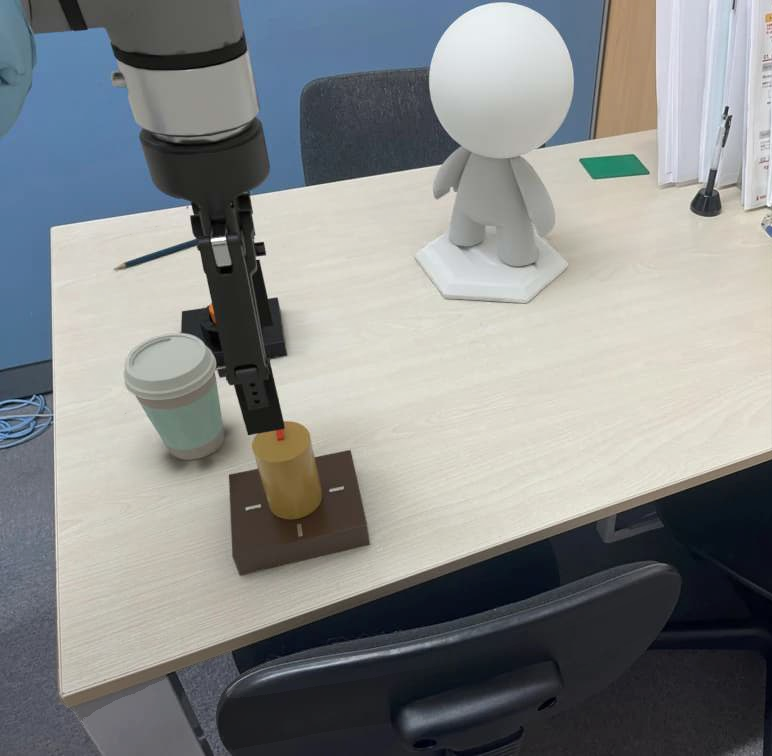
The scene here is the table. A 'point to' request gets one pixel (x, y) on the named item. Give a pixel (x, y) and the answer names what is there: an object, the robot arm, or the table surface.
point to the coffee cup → (178, 392)
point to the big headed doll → (497, 152)
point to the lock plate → (296, 536)
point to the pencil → (157, 254)
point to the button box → (206, 330)
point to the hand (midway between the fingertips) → (261, 373)
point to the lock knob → (288, 470)
